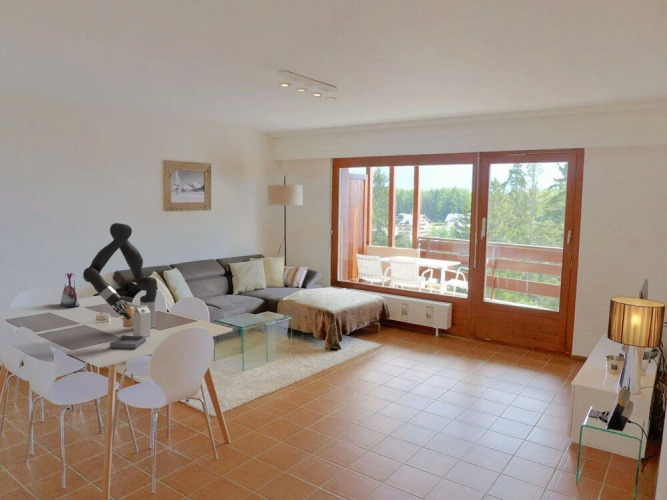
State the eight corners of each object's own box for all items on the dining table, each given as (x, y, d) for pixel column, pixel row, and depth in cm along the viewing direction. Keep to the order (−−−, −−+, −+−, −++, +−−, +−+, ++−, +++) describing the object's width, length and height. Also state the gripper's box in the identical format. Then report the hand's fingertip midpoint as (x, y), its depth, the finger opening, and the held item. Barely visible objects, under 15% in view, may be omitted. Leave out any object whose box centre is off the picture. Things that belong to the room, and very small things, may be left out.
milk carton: (133, 336, 298) (133, 305, 296) (143, 333, 304) (143, 303, 302) (140, 338, 294) (140, 307, 292) (150, 336, 300) (150, 305, 298)
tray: (121, 340, 289) (122, 335, 289) (145, 341, 289) (145, 336, 289) (110, 348, 273) (110, 343, 273) (135, 349, 273) (135, 344, 273)
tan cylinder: (125, 324, 283) (125, 305, 282) (135, 325, 283) (135, 306, 282) (121, 327, 277) (121, 308, 276) (131, 327, 277) (131, 308, 276)
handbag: (82, 307, 365) (82, 274, 363) (68, 309, 358) (68, 275, 355) (71, 302, 379) (71, 270, 377) (57, 304, 372) (57, 272, 369)
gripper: (110, 293, 271) (131, 315, 272) (120, 289, 285) (141, 310, 286) (100, 302, 271) (121, 324, 272) (111, 297, 285) (131, 318, 287)
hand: (131, 317), depth 279 cm, fingers closed on tan cylinder, 5 cm apart
